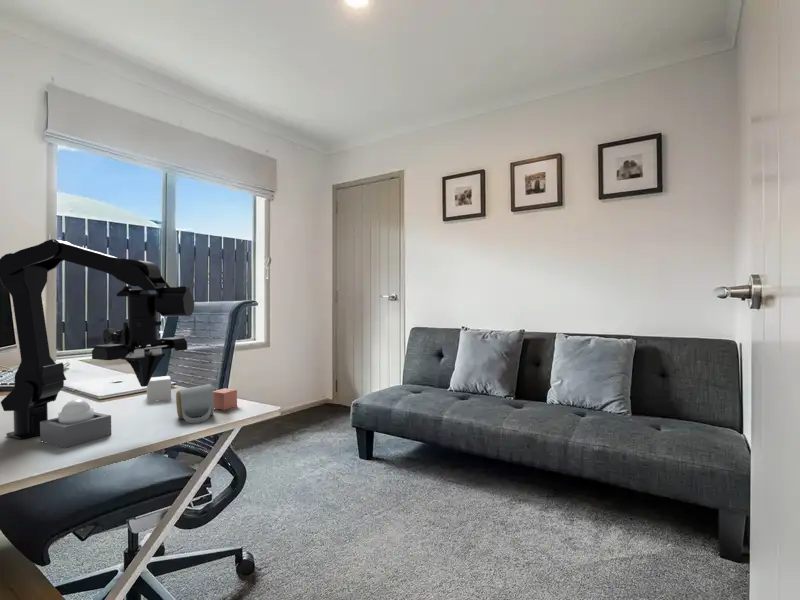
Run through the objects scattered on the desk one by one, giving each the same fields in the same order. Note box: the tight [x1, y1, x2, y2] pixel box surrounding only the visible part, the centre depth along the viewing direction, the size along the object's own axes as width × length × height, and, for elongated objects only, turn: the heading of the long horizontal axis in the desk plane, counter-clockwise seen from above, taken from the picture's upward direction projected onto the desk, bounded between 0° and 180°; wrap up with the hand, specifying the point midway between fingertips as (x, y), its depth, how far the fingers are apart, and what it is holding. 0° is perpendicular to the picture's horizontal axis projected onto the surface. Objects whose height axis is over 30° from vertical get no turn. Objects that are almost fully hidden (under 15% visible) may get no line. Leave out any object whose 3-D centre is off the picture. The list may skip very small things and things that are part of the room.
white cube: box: [146, 375, 172, 403], centre depth 127 cm, size 6×6×6 cm
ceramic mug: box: [175, 383, 215, 424], centre depth 106 cm, size 11×8×8 cm
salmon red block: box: [212, 387, 238, 411], centre depth 116 cm, size 4×4×5 cm
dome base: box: [39, 411, 112, 449], centre depth 92 cm, size 9×9×4 cm
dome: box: [57, 398, 94, 425], centre depth 92 cm, size 6×6×5 cm
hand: (144, 386), depth 97 cm, fingers closed
